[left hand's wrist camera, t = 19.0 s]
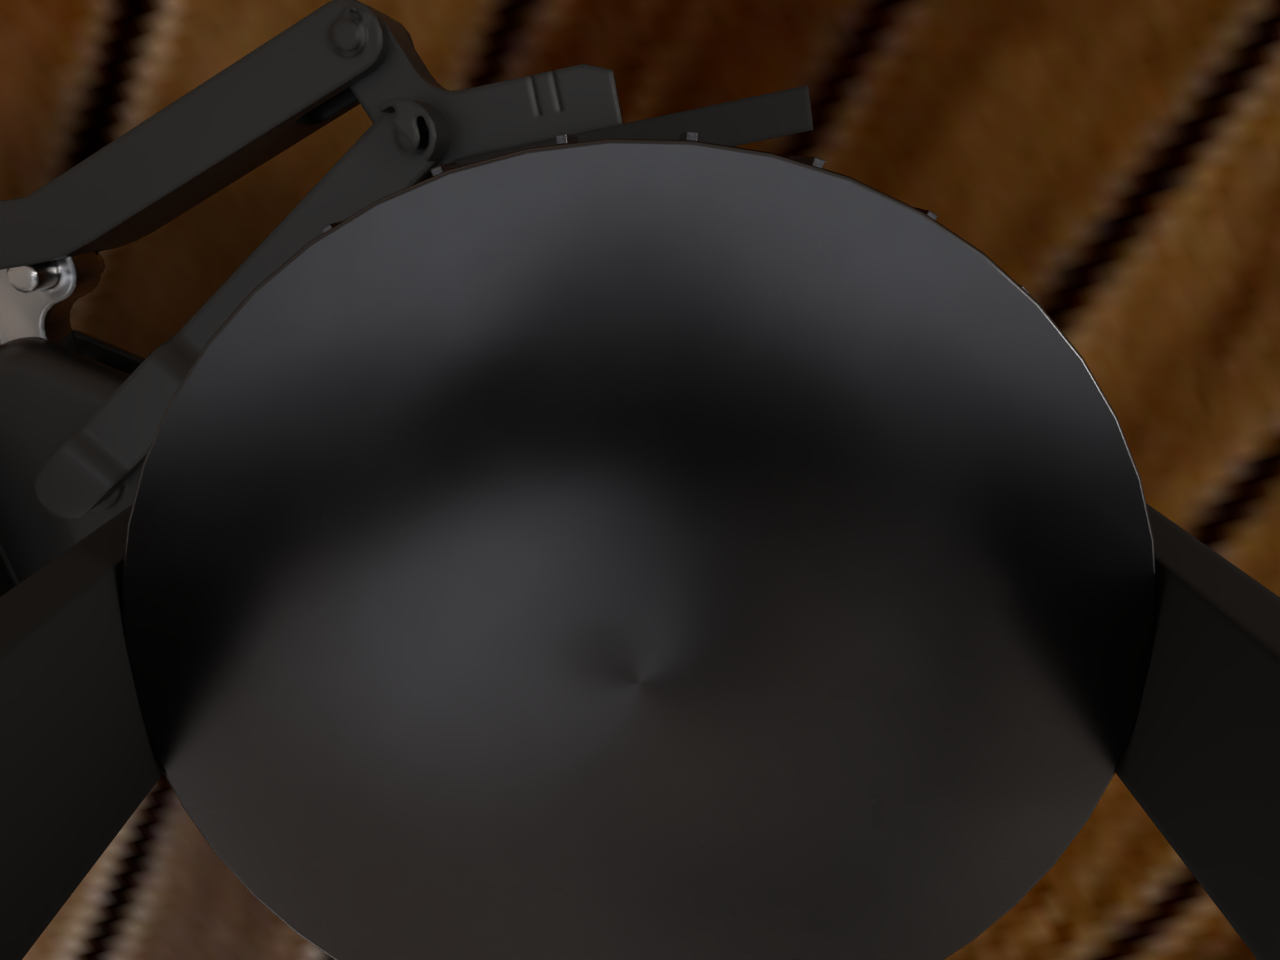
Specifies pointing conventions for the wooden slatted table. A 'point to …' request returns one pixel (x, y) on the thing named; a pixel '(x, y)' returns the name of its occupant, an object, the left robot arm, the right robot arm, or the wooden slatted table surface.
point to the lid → (639, 571)
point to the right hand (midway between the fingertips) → (832, 382)
